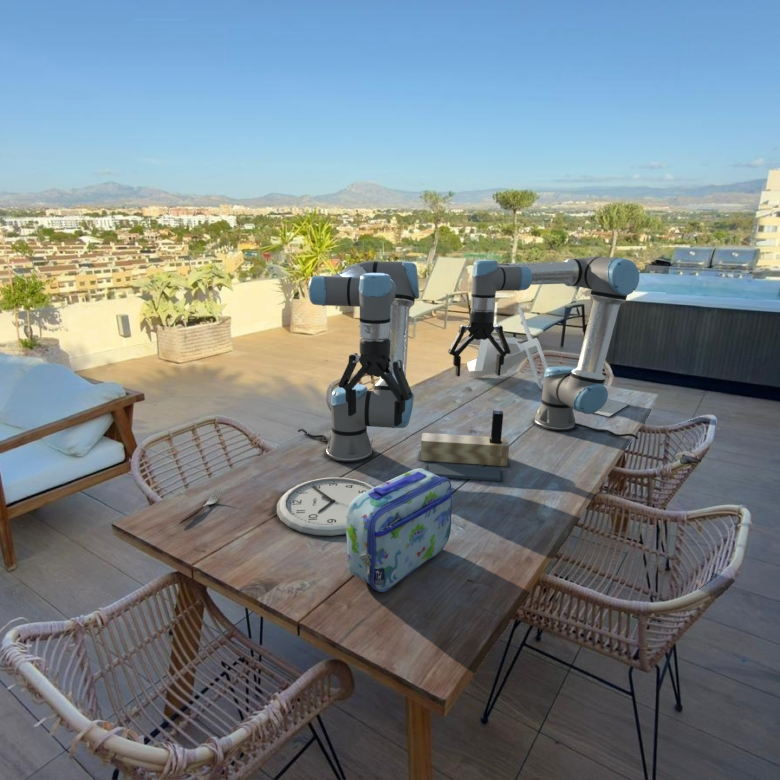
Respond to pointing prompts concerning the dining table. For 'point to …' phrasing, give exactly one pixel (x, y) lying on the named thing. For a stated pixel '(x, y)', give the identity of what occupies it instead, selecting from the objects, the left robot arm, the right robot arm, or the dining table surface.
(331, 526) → the wall clock
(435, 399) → the dining table surface
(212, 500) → the fork
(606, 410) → the invitation card
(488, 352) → the white plastic object
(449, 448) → the wooden block
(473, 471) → the mat
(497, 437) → the peg
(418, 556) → the lunch box
